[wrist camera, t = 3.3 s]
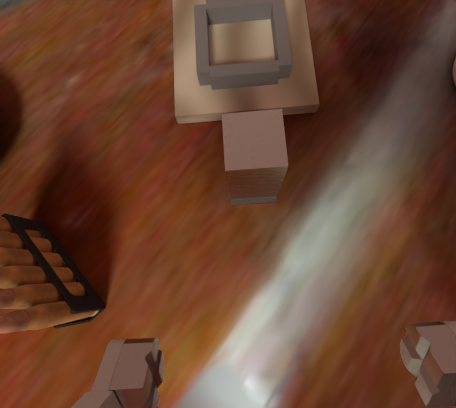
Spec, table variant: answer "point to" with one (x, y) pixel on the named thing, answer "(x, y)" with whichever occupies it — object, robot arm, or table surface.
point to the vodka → (454, 71)
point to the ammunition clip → (40, 280)
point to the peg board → (241, 58)
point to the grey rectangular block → (254, 155)
